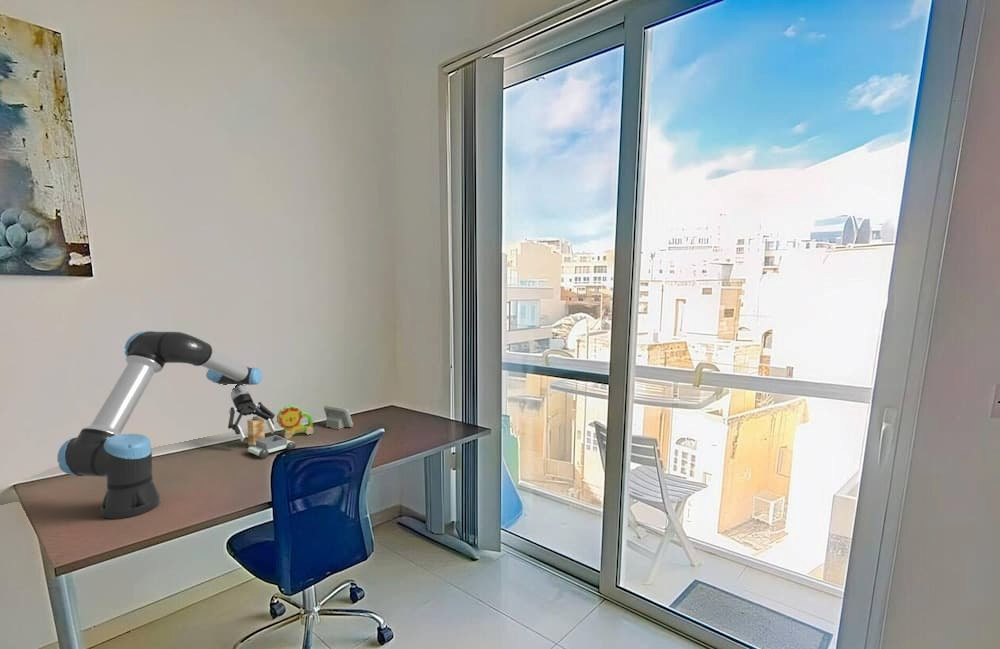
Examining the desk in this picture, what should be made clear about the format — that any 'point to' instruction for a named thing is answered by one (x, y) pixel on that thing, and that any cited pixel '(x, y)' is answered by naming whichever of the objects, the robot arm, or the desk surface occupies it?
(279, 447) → the chassis
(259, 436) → the tall wooden block
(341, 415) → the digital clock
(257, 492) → the desk surface
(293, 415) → the toy lion
